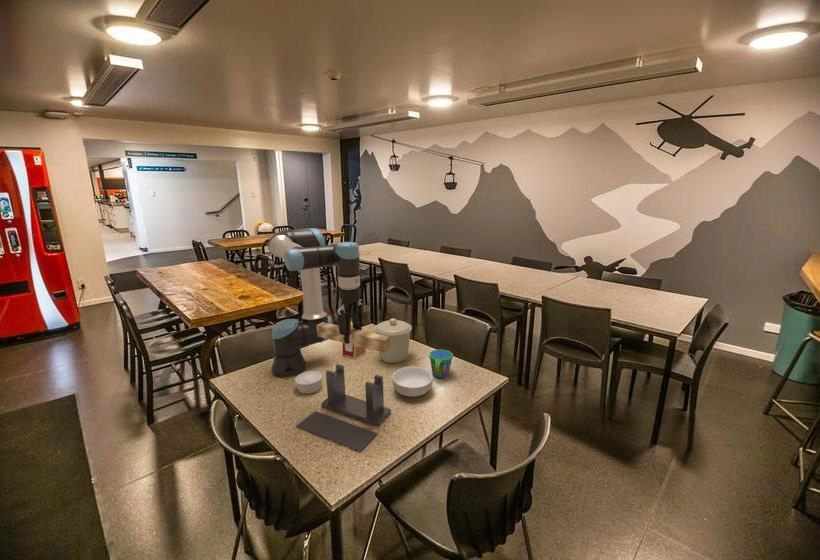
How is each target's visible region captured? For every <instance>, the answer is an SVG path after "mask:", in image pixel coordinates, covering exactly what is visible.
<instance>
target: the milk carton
mask: <svg viewBox="0 0 820 560" xmlns="http://www.w3.org/2000/svg"><path fill="white" fill-rule="evenodd" d="M351 328H352V329H354V328H353V324H352V318H351ZM352 349H353V351H352V352H349V351H345V343H342V357H346V358H350V359H353V360H355V359H357V358H359V357H361V356H362V355H364V354H367V350H366V349H367V348H363V347H355V346H353V345H352Z"/></svg>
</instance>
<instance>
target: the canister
mask: <svg viewBox="0 0 820 560" xmlns="http://www.w3.org/2000/svg"><path fill="white" fill-rule="evenodd" d="M412 329H413V327H412V325H411V324H410V323H408V322H406V321H404V320H398V319H396V318H394V317H393V318H390V319H388V320H385V321H382V322H380V323H378V324H376V325H375V326H374V332H375V334H379V335H384V336H388V337H390V349H389V350H388V351H387V352H385V353H383V352H379V351H378V353H379V357H380V359H381V360H382V361H383V362H385V363H388V364H399V363H401V362H404V361H405V360H406V359H407V358H408V354H409V348H410V347H409V346H410V338H411V337H410V336H411V331H412Z"/></svg>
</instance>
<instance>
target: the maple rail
mask: <svg viewBox="0 0 820 560" xmlns="http://www.w3.org/2000/svg"><path fill="white" fill-rule="evenodd" d="M316 326H317V336H318V337H322V338H326V339H328V340H330V341H335V342H338V343H341V344H343V343H344V335H341V334H339V325H337V324H333V323H332V324H329V323H324V322H322V323H320V324H318V325H316ZM350 334H352V345H354V346H359V347H363V348H365V349H368V350H372V351H376V352H378V353H379V352H383V353H385V352H387V351H388V350H389V349H390V337H388V336H384V335H379V334H376V332H375V333H373V332H369V331H365V330H362V329H361V330H356V329H352V328H351V329H350Z"/></svg>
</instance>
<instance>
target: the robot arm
mask: <svg viewBox="0 0 820 560" xmlns="http://www.w3.org/2000/svg"><path fill="white" fill-rule="evenodd" d="M324 238H325V237H324V235H323V233H322V231H320V229H319V228H312V227H311V228H309V227H307V228H295V229H284V230H280V231H277V232H276V233H275V234H273V235H272V236H271V237H270V238H269V240H268V245H267V247H268V250H269V252H270V253H271V254H272V255H273V256H274V257H276V258H279V259H280V258H281V259H283V260H284V265H285V267H286V269H287V270H288V271H289V272H295V271H297V272H298V271H300V281H301V291H302V300H303V301H302V302H303V311H304V312H303V314H302V315H301V320H298V319H296V318H286V319H282V320H280V321H278V322H276V323H275V324H274V325H273V326H272V328H271V338H272V343H273V353H274V358H273V363H272V365H271V373H272V374H273V376H276V377H278V378H279V377H280V378H290V377H294V376H298V375H299V374H301V373H304V372H305V370H306V369H307V364H306V363H307V362H306V361H305V358H304V355H303V354H302V351H301V350H302V349H301V347H305V346H310V345H314V344H319V343H323V342H327V341H328V340H329V339H326V338H322V337H318V336H317V326H316V325H318V324H320V323H322V322H324V323H329V324H333V323H332V318H331V317H330V316H329V315H328V313H327V312H325V311H324V306H323V296H322V295H323V294H322V284H321V274H320V268H321V269H322V268H328V267H337V282H338V283H337V284H338V287H339V288H338V298H339V299H340V301H341V304H340V307H339V308H336V309H335V312H336V315H337V322H338V323H337V324H338V326H339V334H341V335H344V343H345V351H349V352H352V351H353V349H352V334H350V329H351V319H352V324H353V328H354V329H356V330H361V331H362V330H363V326H364V304H365V300H364V299H360V298H361V296H362V295H361V294H362V291H361V287H360V286H361V279H360V278H361V277H360V274H361V273H360V269H361V268H360V250H359V249H360V247H359V244H358V243H357V242H354V241H353V242H352V241H343V242H338V243H334V242H332V243H329V244H327V245H326V241H325V239H324ZM353 346H354V345H353ZM355 347H359V346H355Z"/></svg>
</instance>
